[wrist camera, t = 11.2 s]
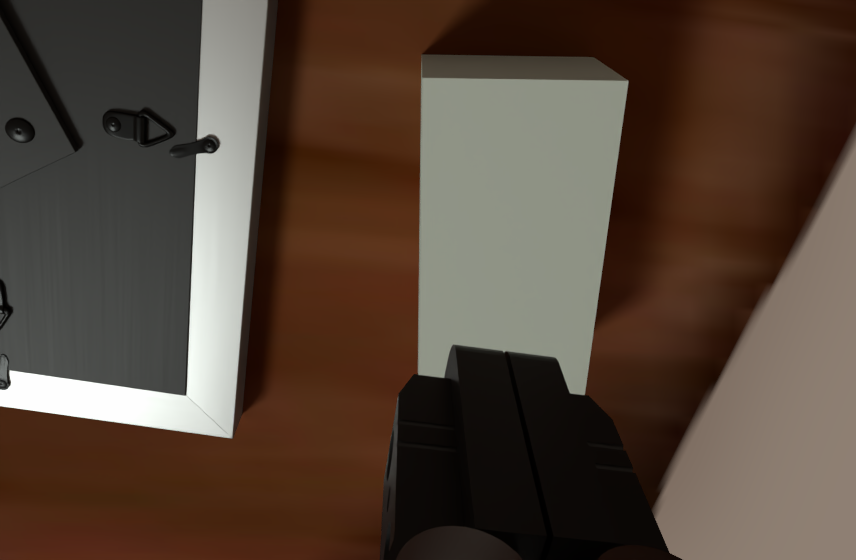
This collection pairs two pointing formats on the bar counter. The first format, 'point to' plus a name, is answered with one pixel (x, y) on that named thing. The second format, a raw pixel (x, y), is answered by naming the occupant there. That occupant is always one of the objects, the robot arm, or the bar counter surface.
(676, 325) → the bar counter surface
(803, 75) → the bar counter surface
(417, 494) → the robot arm
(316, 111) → the bar counter surface
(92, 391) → the picture frame
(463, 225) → the blank block
